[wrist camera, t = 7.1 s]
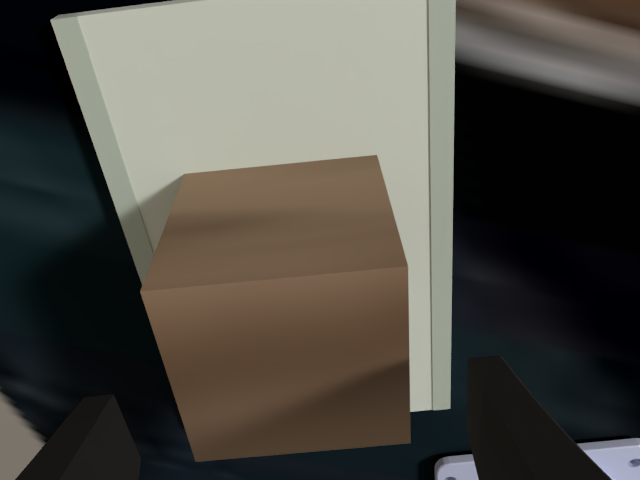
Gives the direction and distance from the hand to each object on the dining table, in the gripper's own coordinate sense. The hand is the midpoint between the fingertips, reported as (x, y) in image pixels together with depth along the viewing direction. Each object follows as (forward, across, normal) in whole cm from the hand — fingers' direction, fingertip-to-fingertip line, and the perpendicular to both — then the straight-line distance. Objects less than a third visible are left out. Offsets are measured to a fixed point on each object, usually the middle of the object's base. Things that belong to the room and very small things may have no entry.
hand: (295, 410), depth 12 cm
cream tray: (+6, 0, 0) cm, 6 cm away
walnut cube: (+6, 0, 0) cm, 6 cm away
